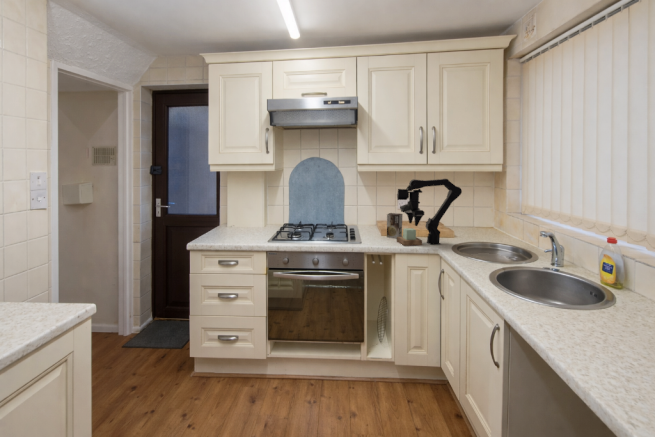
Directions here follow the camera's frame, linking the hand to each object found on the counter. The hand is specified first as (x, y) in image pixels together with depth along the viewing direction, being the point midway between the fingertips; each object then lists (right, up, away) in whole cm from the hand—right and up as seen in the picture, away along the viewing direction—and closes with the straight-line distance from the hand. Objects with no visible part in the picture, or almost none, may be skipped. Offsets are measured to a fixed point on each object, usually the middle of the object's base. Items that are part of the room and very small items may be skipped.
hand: (413, 224), depth 223 cm
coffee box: (-8, -9, +20) cm, 23 cm away
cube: (-2, -9, +1) cm, 9 cm away
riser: (-2, -12, +2) cm, 12 cm away
